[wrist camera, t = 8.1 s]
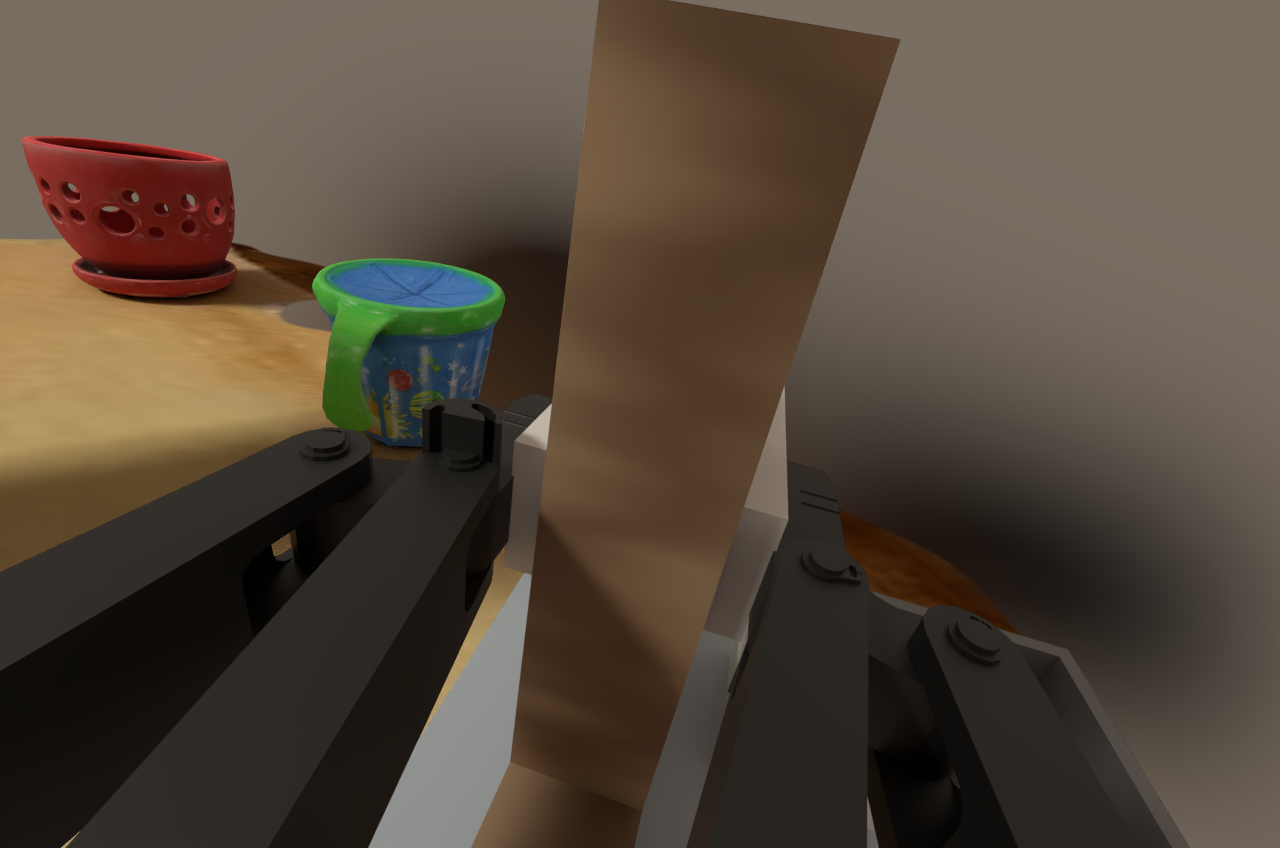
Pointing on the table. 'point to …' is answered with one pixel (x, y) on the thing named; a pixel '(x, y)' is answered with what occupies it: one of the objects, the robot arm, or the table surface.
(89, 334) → the table surface
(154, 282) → the plant pot
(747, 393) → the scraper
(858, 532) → the table surface
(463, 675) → the board
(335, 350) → the snack cup
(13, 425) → the table surface
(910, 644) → the robot arm
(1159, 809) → the box
